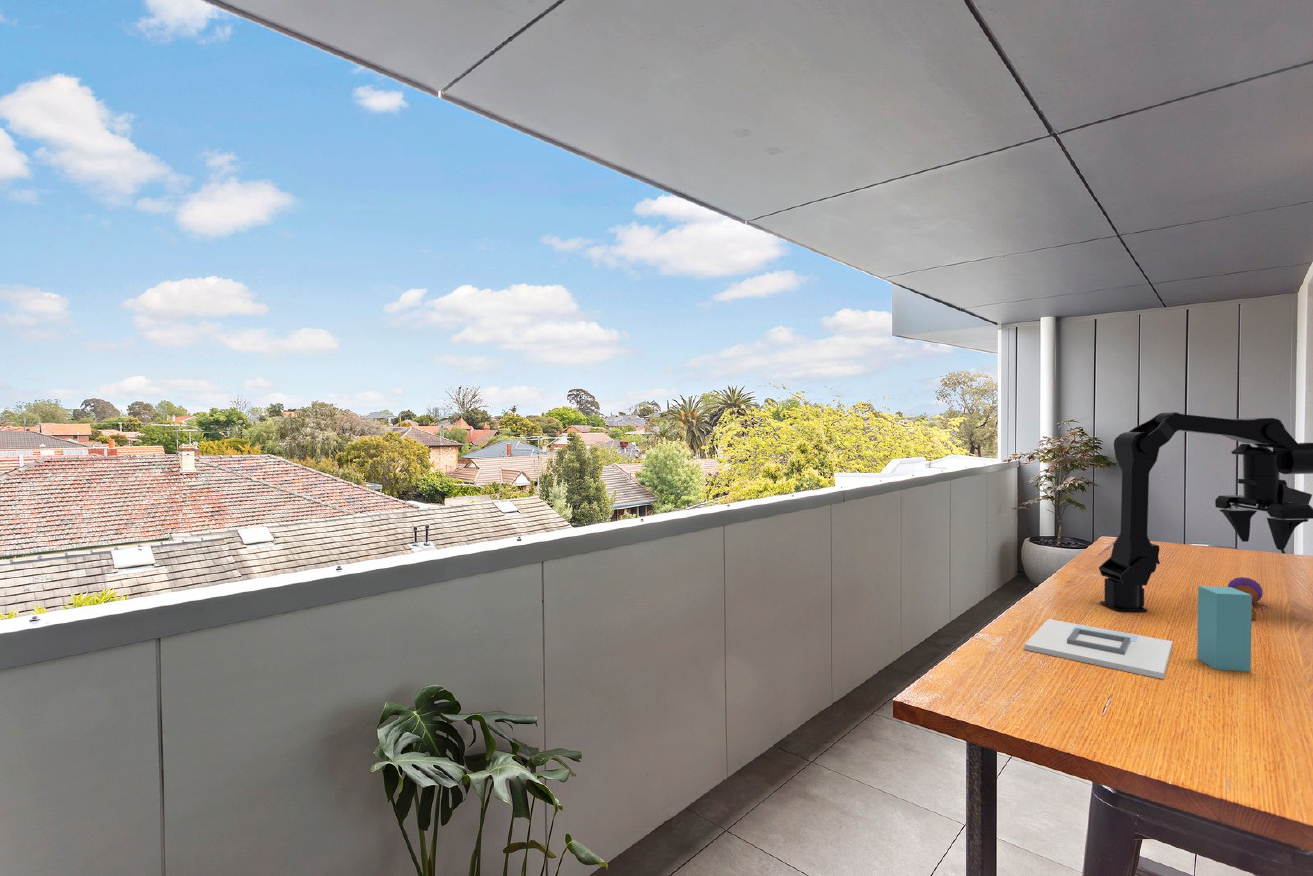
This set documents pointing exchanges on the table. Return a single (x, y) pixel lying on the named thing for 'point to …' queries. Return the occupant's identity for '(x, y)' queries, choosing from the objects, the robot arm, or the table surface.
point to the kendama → (1248, 589)
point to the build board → (1102, 647)
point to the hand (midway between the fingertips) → (1262, 545)
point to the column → (1224, 628)
